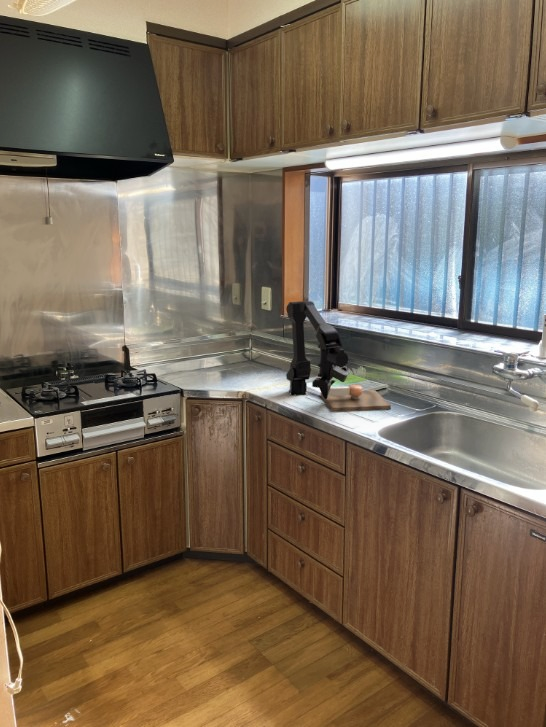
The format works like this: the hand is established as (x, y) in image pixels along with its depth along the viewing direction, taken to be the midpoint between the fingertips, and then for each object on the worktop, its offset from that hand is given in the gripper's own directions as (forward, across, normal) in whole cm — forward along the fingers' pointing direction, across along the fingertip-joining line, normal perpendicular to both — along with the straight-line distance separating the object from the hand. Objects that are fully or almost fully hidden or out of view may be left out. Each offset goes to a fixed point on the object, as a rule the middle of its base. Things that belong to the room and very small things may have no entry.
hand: (325, 398), depth 238 cm
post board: (+4, +12, -9) cm, 16 cm away
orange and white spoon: (0, +10, -5) cm, 11 cm away
